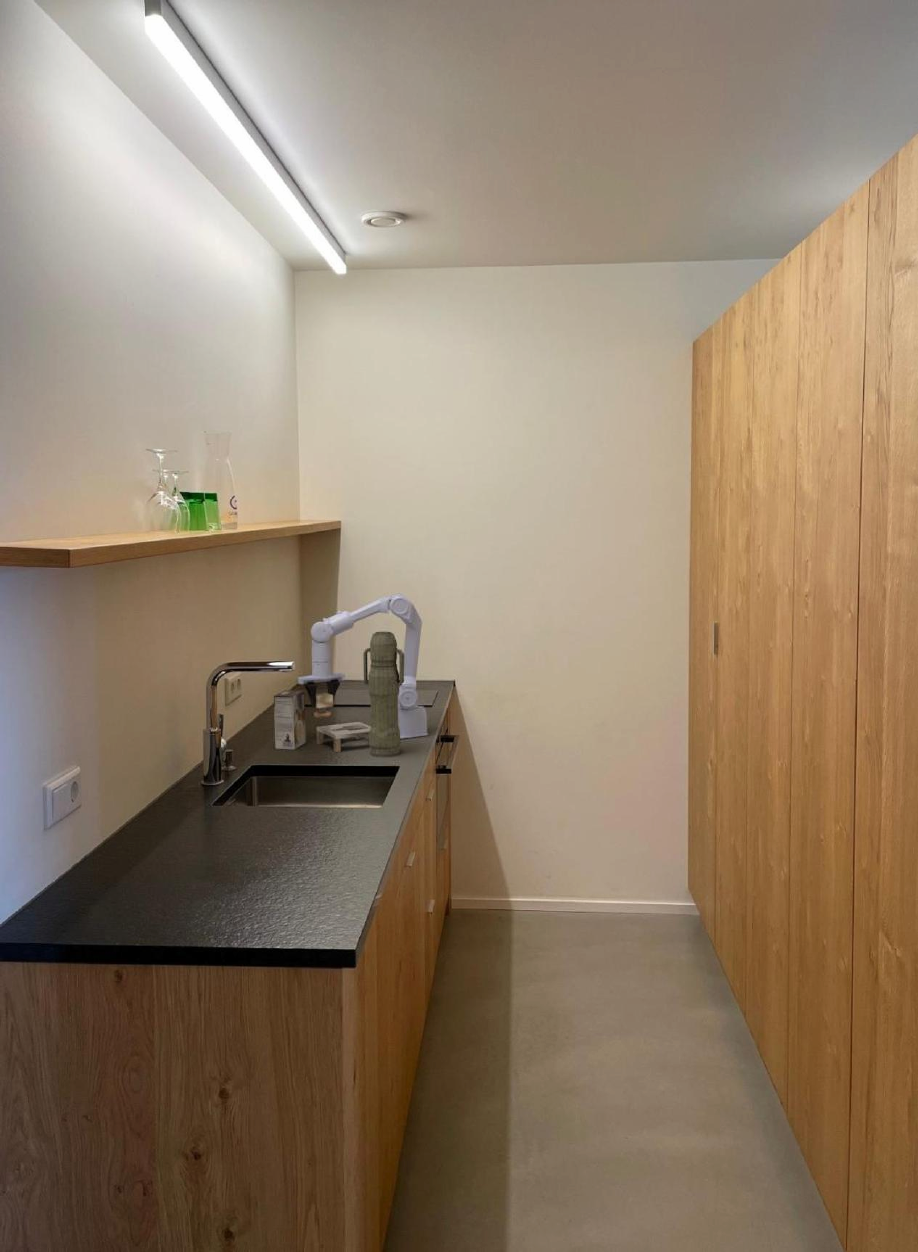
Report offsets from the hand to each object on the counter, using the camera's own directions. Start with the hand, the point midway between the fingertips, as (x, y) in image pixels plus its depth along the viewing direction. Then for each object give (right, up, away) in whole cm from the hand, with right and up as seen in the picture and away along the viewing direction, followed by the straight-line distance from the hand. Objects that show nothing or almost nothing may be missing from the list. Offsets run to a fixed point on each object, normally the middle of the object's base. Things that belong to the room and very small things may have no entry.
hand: (322, 705), depth 295 cm
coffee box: (-8, -12, -8) cm, 17 cm away
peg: (0, -3, 0) cm, 3 cm away
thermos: (+21, -13, -18) cm, 30 cm away
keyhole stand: (+9, -11, -8) cm, 16 cm away
